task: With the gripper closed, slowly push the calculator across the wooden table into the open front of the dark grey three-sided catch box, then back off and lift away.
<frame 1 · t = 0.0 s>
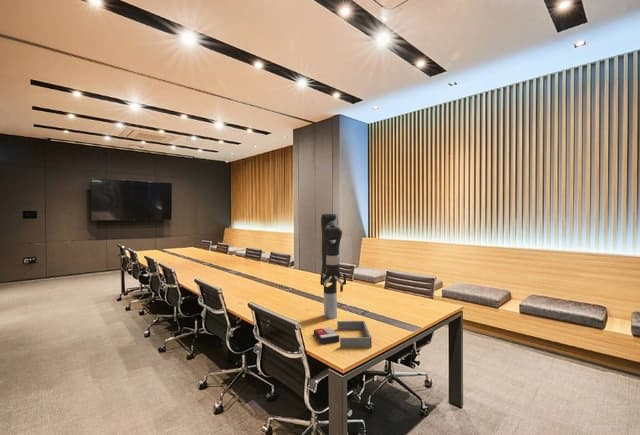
hand: (333, 292, 167), 29 cm above the table, tool pointing down, fingers open, 8 cm apart
calculator: (326, 338, 176), on the table
catch box: (353, 337, 176), on the table
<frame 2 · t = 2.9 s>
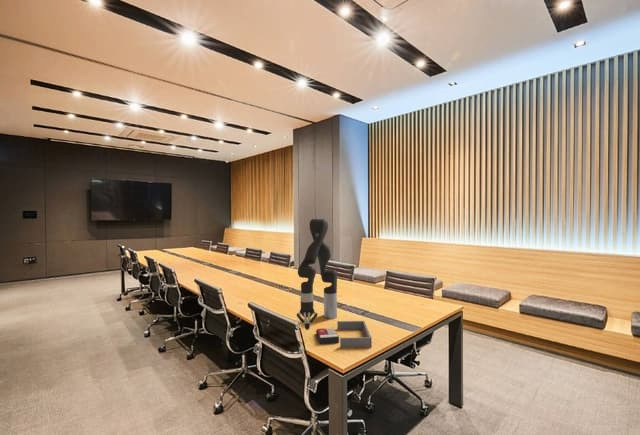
hand: (307, 329, 176), 5 cm above the table, tool pointing down, fingers closed
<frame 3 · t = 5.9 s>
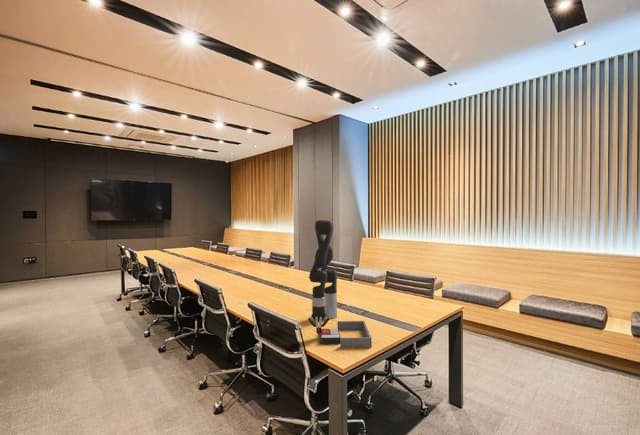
hand: (318, 333, 176), 3 cm above the table, tool pointing down, fingers closed
calculator: (330, 339, 175), on the table, touching gripper
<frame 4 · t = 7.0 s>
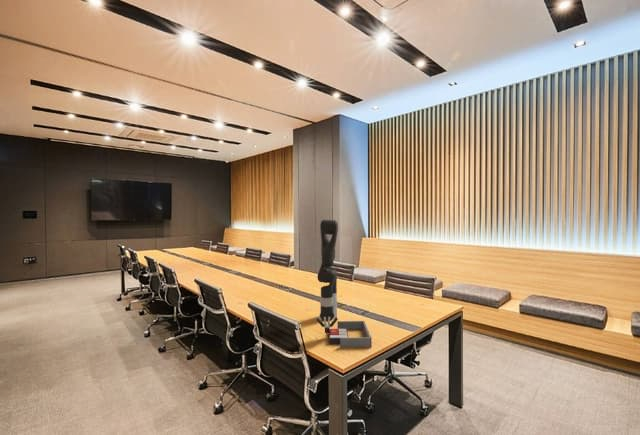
hand: (327, 333, 176), 3 cm above the table, tool pointing down, fingers closed
calculator: (338, 339, 175), on the table
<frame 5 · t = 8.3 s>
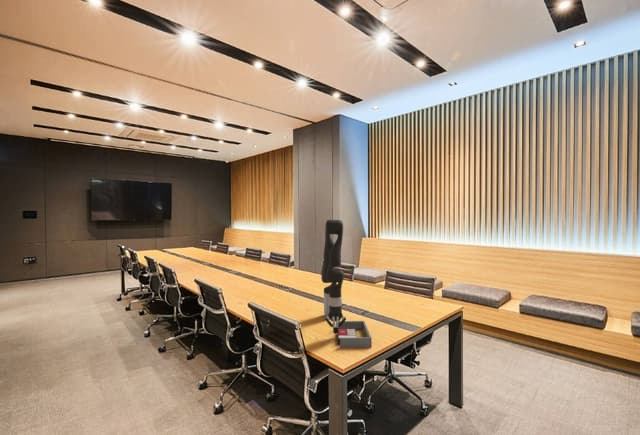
hand: (335, 333, 176), 3 cm above the table, tool pointing down, fingers closed
calculator: (347, 340, 174), on the table
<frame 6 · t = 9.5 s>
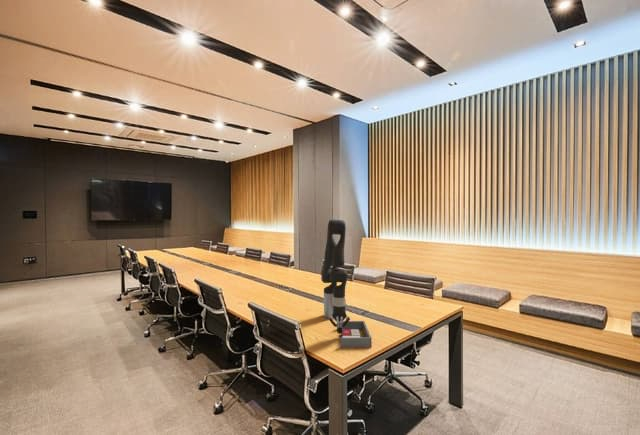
hand: (339, 333, 176), 3 cm above the table, tool pointing down, fingers closed
calculator: (350, 340, 173), on the table
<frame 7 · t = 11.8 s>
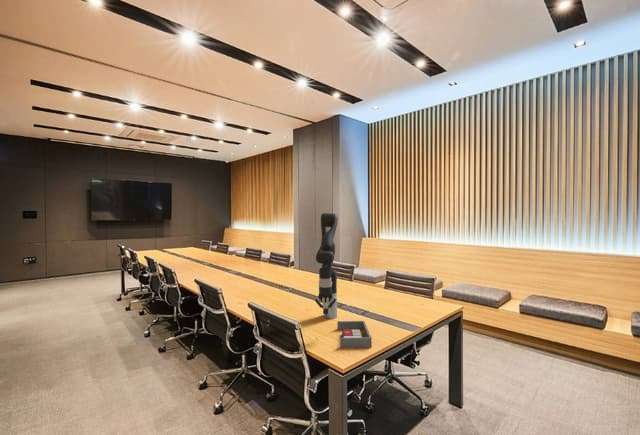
hand: (325, 314, 176), 14 cm above the table, tool pointing down, fingers closed
nothing on the table moved.
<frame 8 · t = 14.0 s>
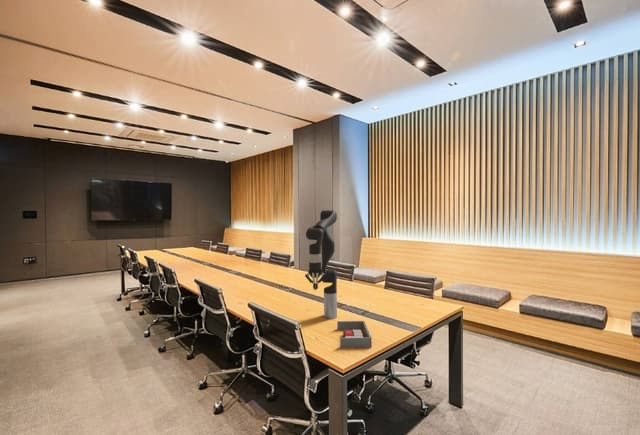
hand: (315, 289, 182), 27 cm above the table, tool pointing down, fingers closed
at the end: calculator inside the target area on the catch box (3.6 cm from its centre), point -0.7 cm above the catch box's base; calculator moved 16.1 cm from its start; the gripper is holding nothing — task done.
